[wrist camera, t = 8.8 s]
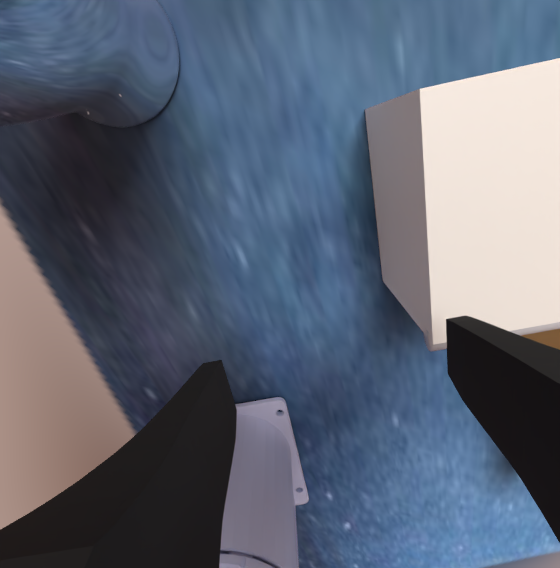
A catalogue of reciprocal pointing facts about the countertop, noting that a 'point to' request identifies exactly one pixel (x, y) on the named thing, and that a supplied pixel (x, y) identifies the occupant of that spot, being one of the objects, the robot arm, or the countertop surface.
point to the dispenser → (471, 200)
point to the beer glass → (85, 60)
